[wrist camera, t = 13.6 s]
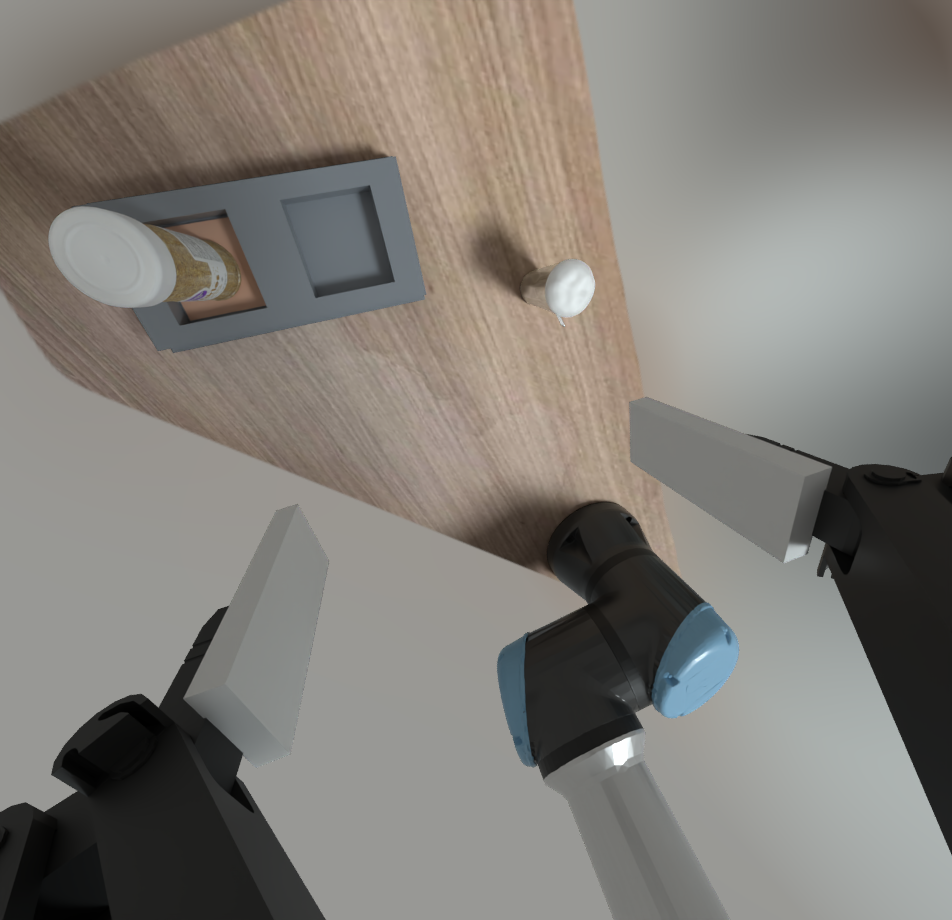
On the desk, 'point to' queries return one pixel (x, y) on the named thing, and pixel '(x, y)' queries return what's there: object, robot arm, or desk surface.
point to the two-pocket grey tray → (287, 250)
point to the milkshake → (560, 288)
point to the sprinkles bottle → (138, 260)
